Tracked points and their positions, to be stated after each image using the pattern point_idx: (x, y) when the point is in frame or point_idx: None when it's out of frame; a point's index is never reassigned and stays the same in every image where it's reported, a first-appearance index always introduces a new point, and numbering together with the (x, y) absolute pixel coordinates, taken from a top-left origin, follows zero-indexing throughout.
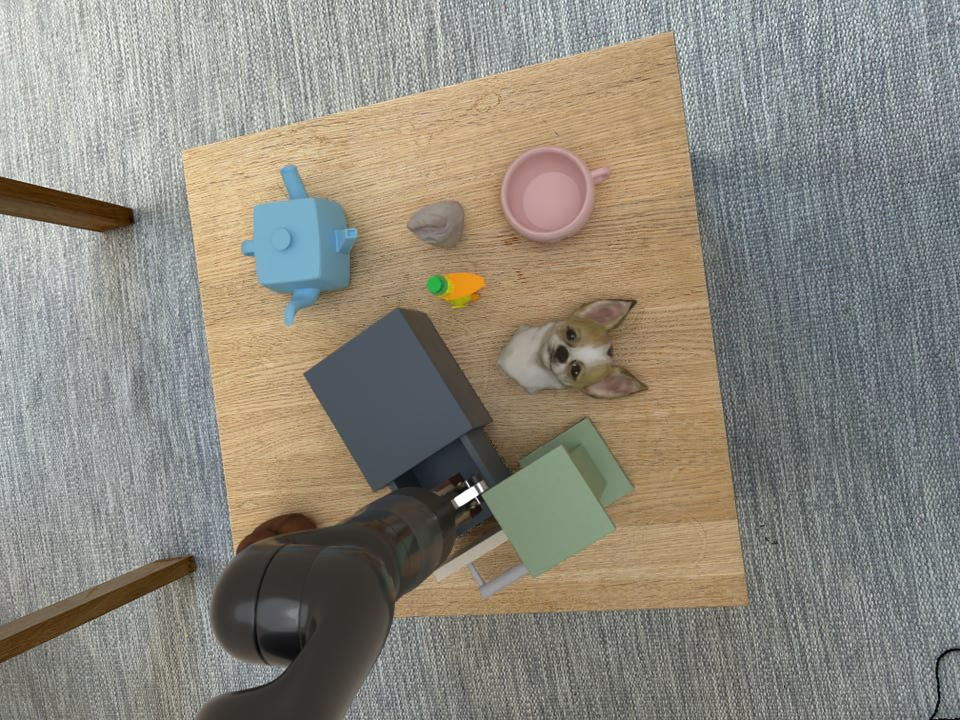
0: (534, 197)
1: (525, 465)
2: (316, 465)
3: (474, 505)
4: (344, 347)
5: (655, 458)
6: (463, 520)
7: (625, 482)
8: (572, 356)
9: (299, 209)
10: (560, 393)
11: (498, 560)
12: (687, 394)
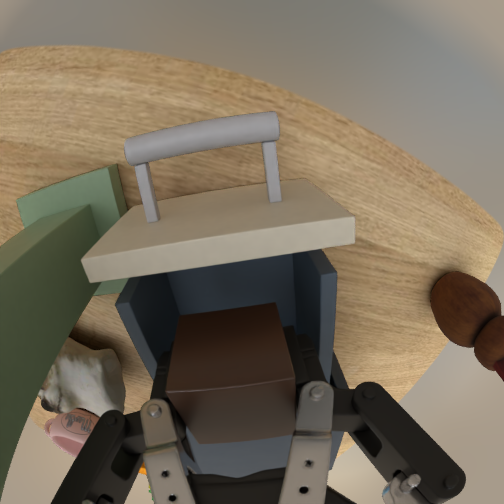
0: None
1: None
2: (389, 342)
3: (142, 425)
4: None
5: (7, 219)
6: (191, 395)
7: (22, 212)
8: (41, 392)
9: None
10: (88, 322)
11: (239, 150)
12: None
